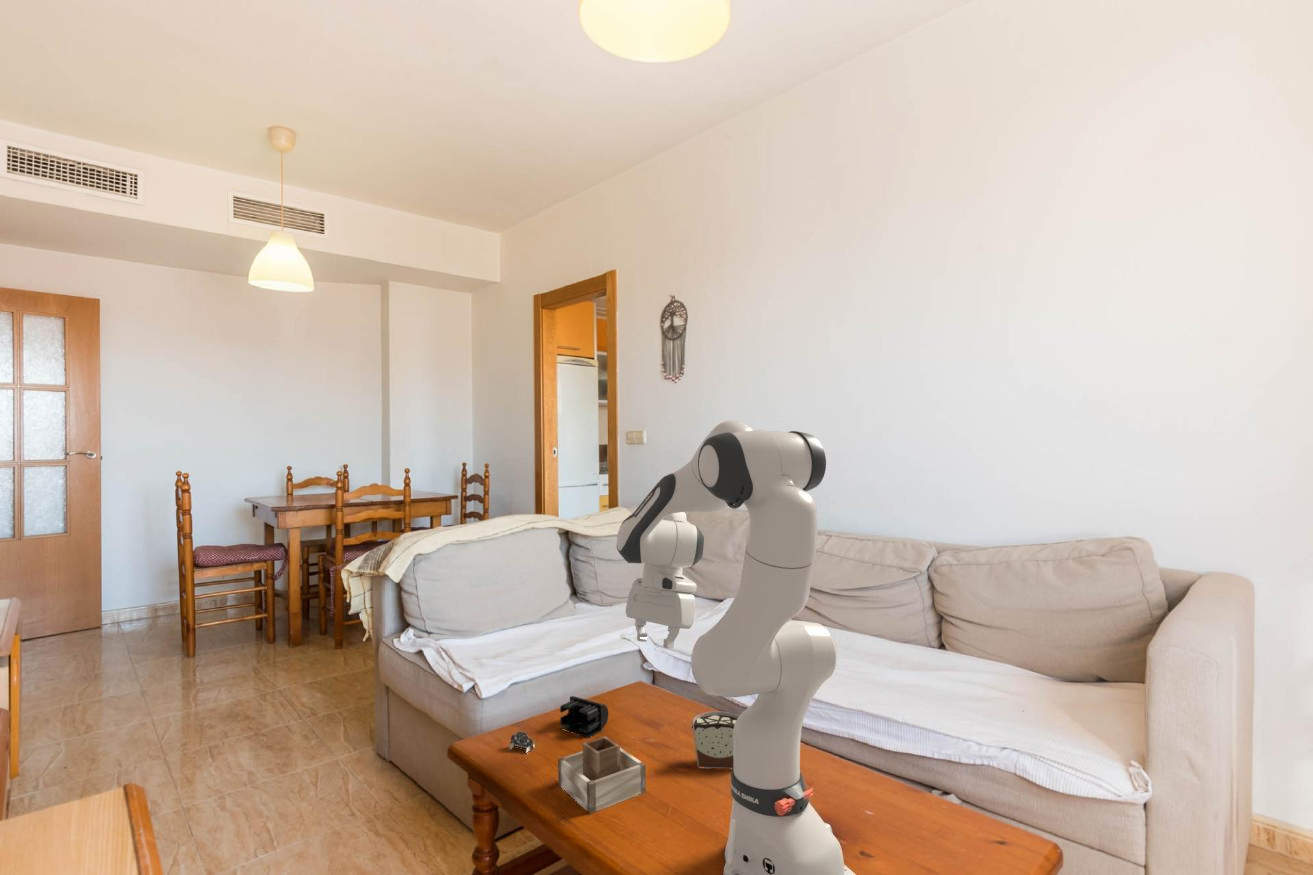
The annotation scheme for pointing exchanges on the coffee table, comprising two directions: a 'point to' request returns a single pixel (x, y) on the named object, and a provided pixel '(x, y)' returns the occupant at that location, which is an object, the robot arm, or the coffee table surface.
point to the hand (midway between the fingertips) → (654, 644)
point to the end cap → (583, 716)
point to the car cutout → (521, 741)
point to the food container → (714, 739)
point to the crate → (601, 782)
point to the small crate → (600, 758)
